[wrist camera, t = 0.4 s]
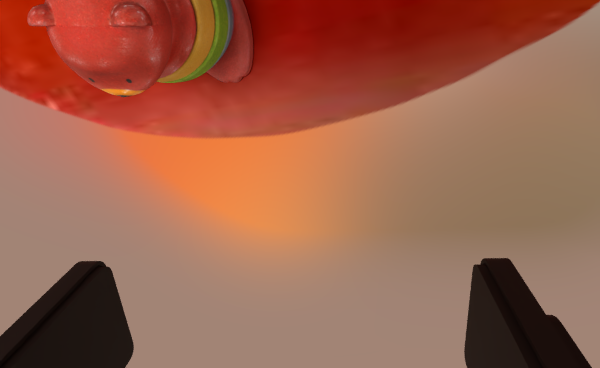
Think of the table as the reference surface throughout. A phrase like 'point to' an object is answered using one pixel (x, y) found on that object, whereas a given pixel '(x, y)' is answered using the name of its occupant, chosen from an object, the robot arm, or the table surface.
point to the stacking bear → (148, 40)
